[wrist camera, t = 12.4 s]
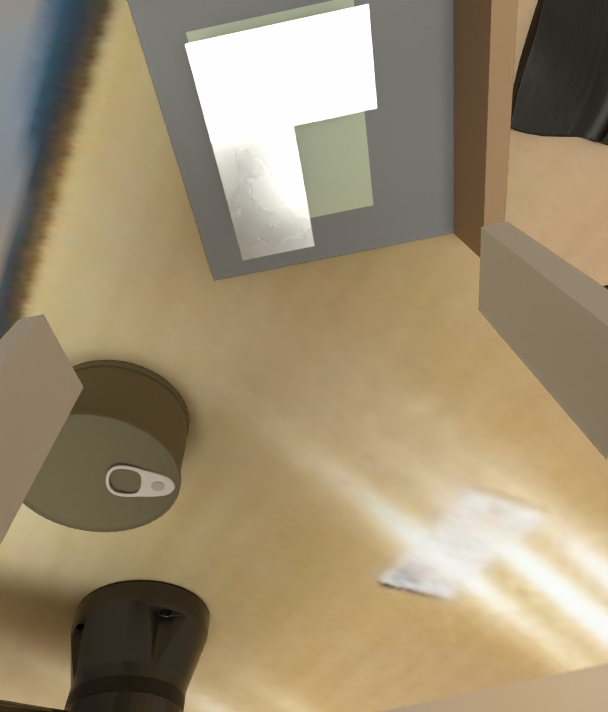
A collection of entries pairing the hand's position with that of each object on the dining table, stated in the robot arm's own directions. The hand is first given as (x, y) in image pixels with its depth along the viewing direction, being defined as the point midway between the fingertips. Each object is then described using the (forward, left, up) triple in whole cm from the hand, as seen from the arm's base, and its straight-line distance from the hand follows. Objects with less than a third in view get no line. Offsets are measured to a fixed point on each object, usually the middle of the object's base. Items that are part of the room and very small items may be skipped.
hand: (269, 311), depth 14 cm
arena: (+4, +3, -19) cm, 19 cm away
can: (-16, -16, -19) cm, 30 cm away
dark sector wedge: (+21, +4, -19) cm, 29 cm away
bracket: (+2, +2, -18) cm, 18 cm away
